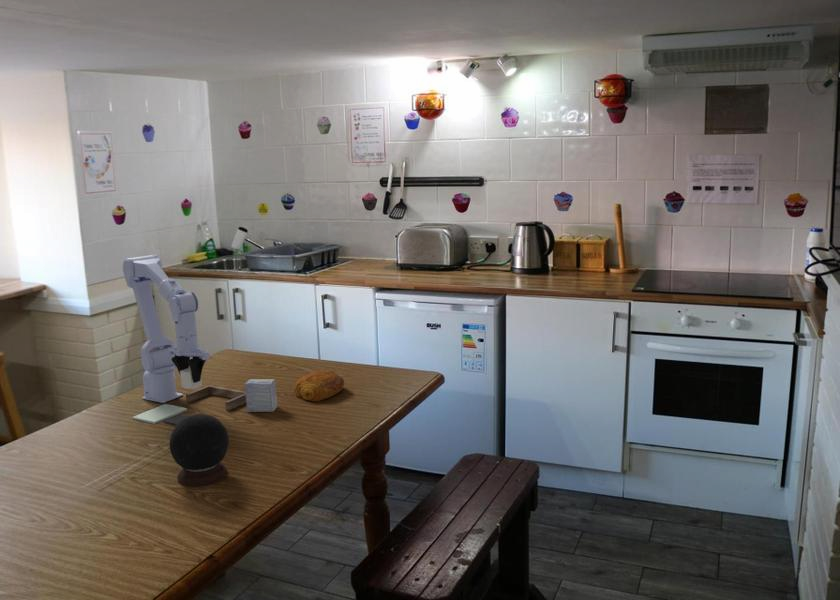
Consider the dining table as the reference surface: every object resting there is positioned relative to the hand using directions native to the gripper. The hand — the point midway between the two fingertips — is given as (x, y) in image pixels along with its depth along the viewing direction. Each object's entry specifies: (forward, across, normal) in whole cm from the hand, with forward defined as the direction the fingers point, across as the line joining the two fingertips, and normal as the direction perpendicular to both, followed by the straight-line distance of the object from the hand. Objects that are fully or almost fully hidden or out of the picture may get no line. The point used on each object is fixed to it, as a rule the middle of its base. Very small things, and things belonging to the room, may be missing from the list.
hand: (191, 380), depth 217 cm
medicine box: (+10, +17, +10) cm, 22 cm away
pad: (+9, -7, -6) cm, 13 cm away
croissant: (+10, +24, +28) cm, 38 cm away
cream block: (+2, 0, 0) cm, 2 cm away
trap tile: (+9, +2, -7) cm, 12 cm away
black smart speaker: (+10, +35, -31) cm, 48 cm away
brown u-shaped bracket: (+9, 0, +10) cm, 13 cm away
